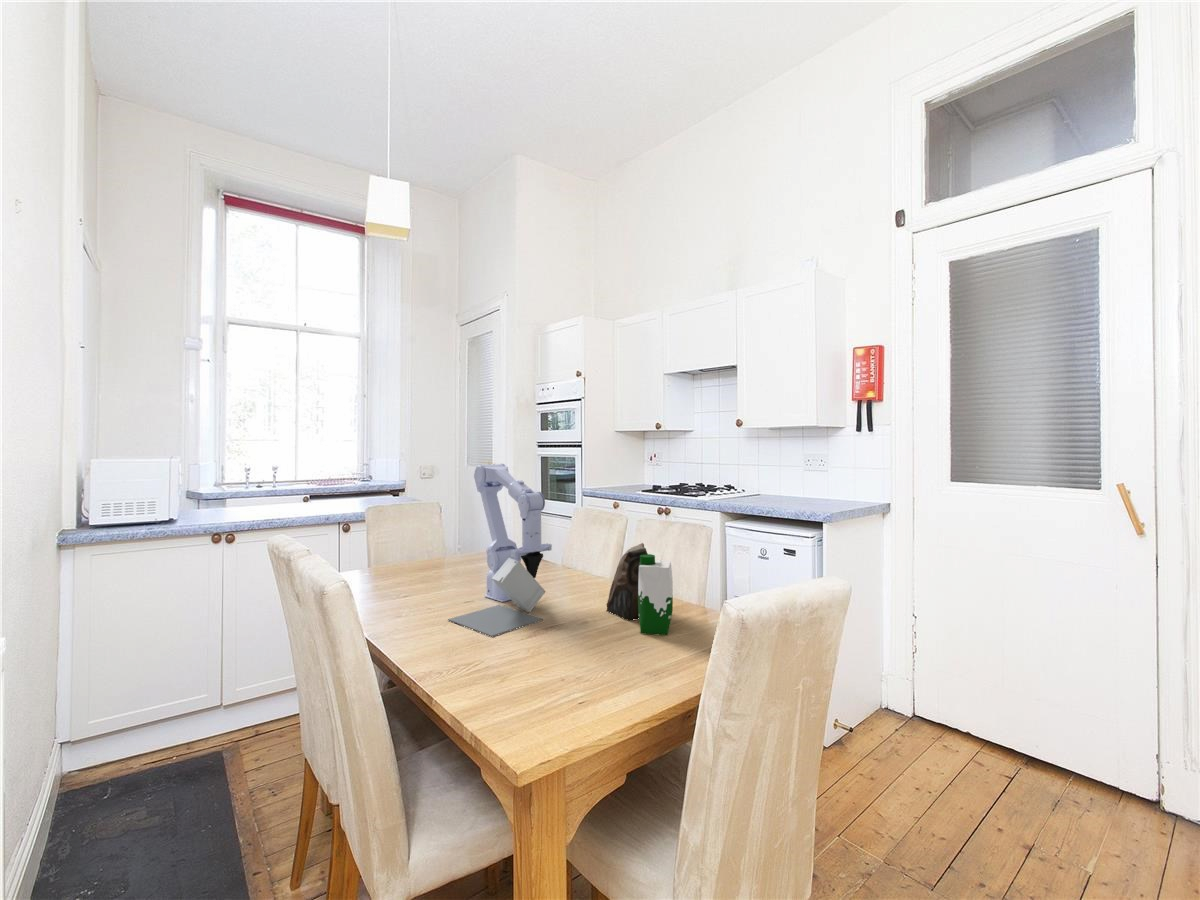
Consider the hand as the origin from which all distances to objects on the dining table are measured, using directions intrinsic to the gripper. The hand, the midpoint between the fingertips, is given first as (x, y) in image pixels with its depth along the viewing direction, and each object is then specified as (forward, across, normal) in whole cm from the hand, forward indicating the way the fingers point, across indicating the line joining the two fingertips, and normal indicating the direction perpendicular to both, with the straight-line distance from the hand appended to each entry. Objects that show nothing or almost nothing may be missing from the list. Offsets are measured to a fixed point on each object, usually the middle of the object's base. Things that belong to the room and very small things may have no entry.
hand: (532, 577), depth 167 cm
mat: (+10, -14, 0) cm, 17 cm away
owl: (+10, +16, -24) cm, 31 cm away
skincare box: (+7, 0, 0) cm, 7 cm away
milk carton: (+10, +9, -39) cm, 41 cm away
